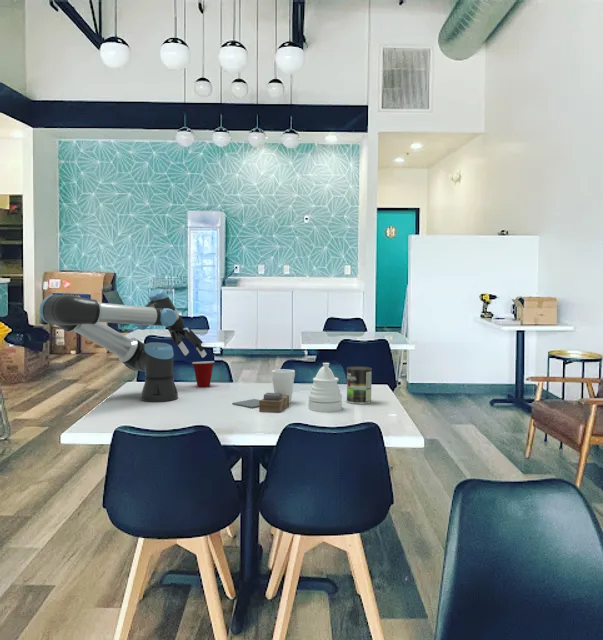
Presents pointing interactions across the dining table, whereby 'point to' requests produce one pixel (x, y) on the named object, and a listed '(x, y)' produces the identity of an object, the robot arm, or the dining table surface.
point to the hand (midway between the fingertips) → (195, 354)
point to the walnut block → (273, 402)
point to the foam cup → (283, 382)
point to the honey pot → (325, 392)
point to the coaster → (248, 403)
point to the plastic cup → (203, 372)
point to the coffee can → (359, 385)
